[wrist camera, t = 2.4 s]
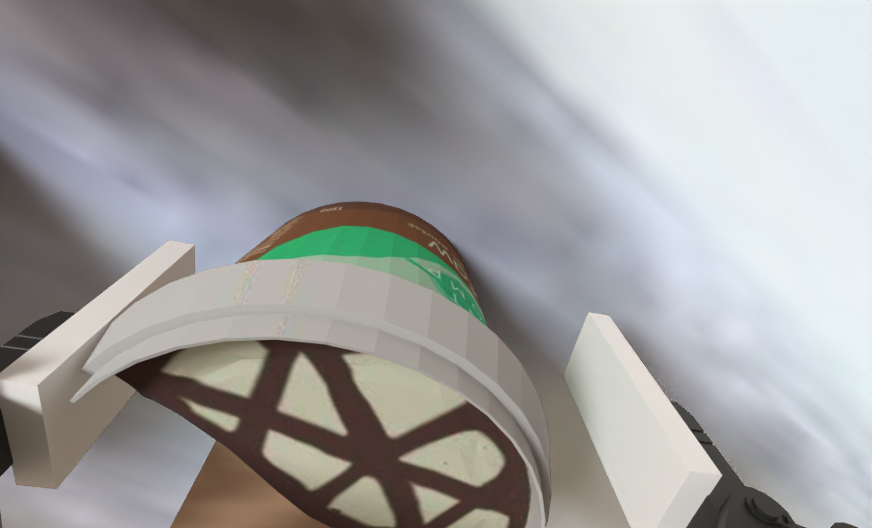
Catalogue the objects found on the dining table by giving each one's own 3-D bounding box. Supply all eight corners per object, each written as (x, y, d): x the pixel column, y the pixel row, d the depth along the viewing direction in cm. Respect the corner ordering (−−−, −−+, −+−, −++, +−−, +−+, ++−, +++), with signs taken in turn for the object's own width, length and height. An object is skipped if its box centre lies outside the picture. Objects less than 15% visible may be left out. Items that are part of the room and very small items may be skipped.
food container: (561, 318, 20) (674, 547, 11) (453, 394, 22) (474, 647, 13) (352, 92, 16) (256, 158, 7) (239, 208, 17) (41, 384, 8)
